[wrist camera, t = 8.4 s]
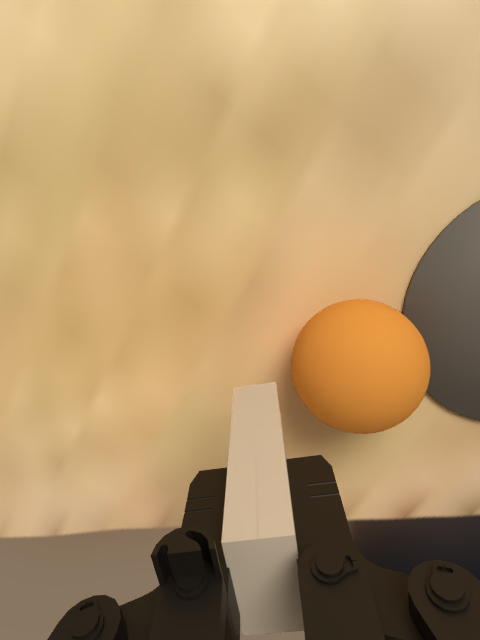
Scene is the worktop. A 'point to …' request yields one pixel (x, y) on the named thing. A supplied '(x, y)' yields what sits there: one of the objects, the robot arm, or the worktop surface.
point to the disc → (451, 312)
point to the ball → (360, 366)
